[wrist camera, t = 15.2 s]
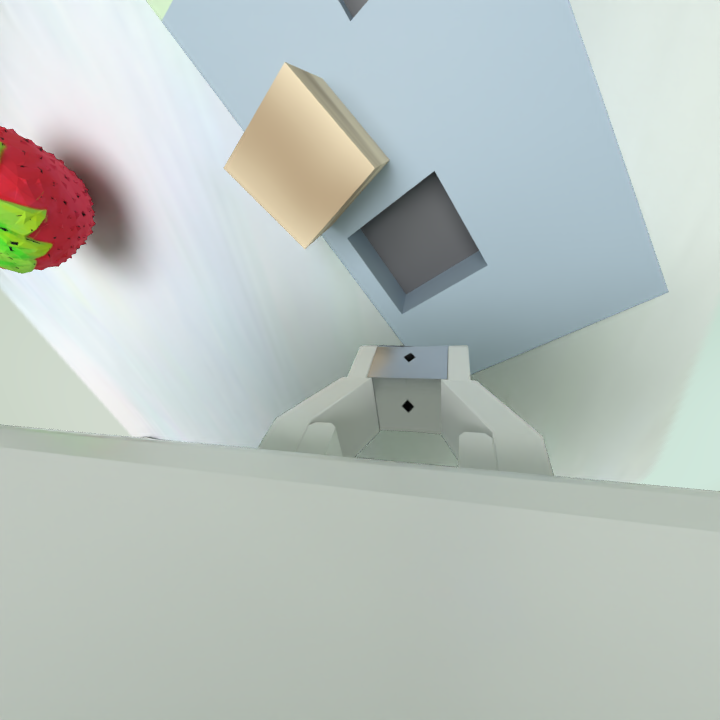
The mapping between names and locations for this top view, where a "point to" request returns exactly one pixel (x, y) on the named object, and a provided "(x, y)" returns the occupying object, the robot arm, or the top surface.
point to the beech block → (304, 155)
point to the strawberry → (39, 207)
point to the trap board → (454, 159)
